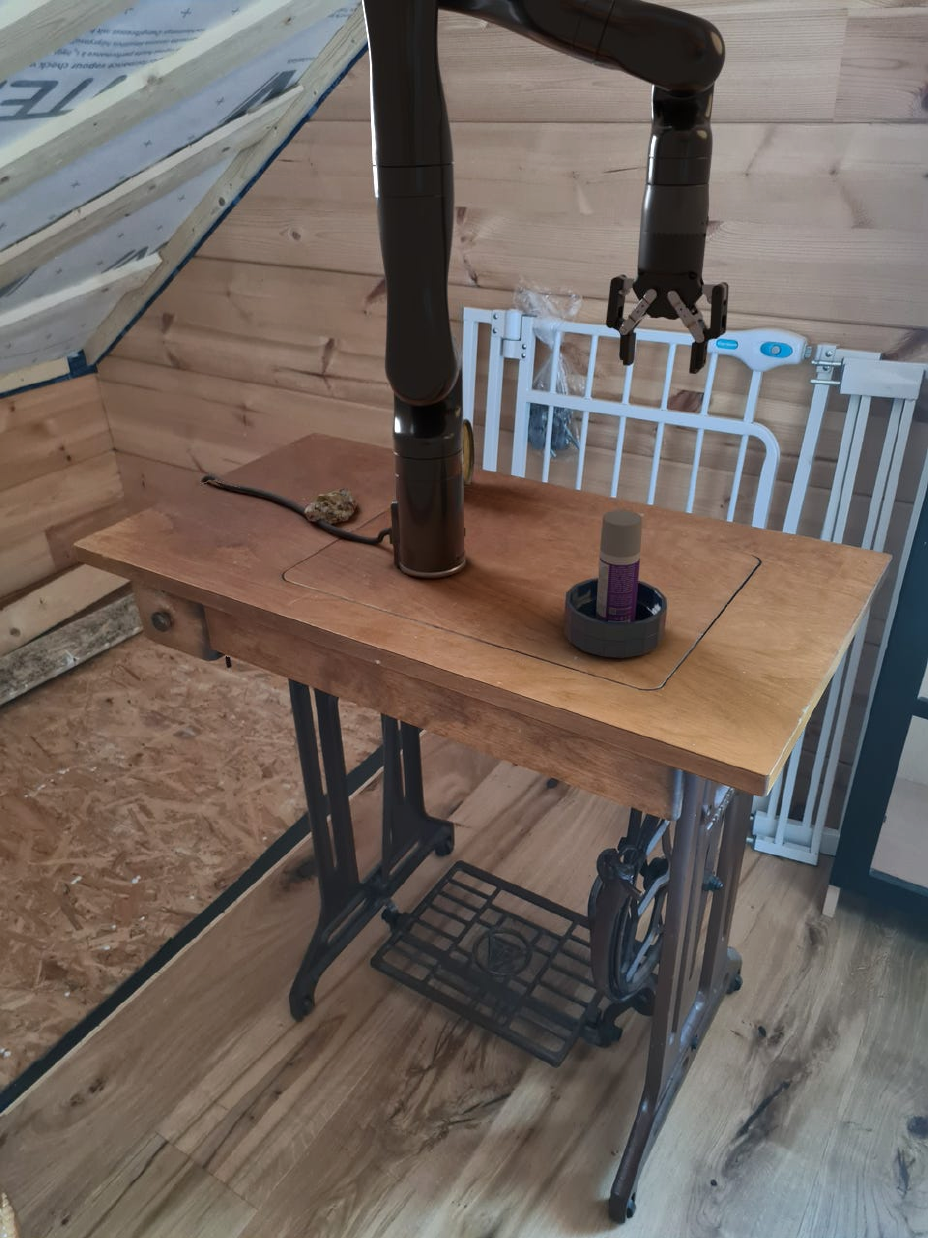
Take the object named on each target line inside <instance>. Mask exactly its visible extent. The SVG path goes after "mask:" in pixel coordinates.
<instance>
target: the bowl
mask: <svg viewBox="0 0 928 1238" xmlns="http://www.w3.org/2000/svg"><path fill="white" fill-rule="evenodd" d="M597 591H598V577H594V578H589V579H585V580H582V581H581V582H578V583H576V584H573V586H571V587H570V589H568V590H567V591H566V592H565V600H564V620H563V635H564V636H565V637H566V639H567V640H568V642H569V643H570V644H571V645H573V646H574V647H577V648H578V649H580V650H581V651H583V652H586V653H589V654H592V655H594V656H597V657H598V656H599V657H604V658H610V659H623V658H626V659H627V658H632V657H636V656H643V655H645V654H647V653H648V654H649V653H650V652H652V651H654V650H656V649H657V648H659V647H660V645H661V644H662V643H663V641H664V640H665V634H666V633H665V632H666V624H667V623H666V622H667V613H668V601H667V597H666V596H665V594H663V592H662V591H661V590H659V589H658V588H657V587H655V586H653V585H651V584H649V583H647V582H645V581H641V580H638V589H637V600H636V612H635V621H634V622H628V623H619V622H605V621H601V620H597V619H596V608H597Z"/></svg>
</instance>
